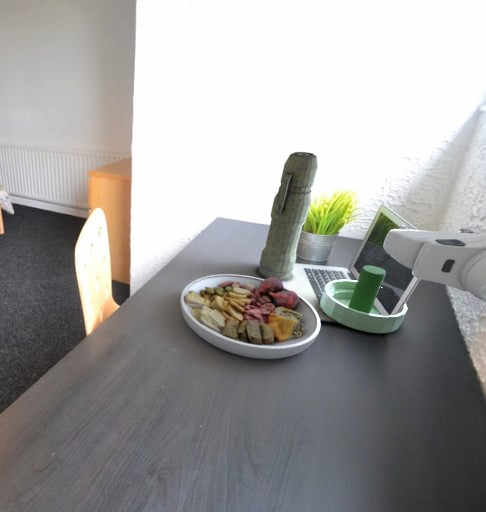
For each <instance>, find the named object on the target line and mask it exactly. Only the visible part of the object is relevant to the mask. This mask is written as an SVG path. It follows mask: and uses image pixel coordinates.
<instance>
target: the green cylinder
mask: <svg viewBox="0 0 486 512" xmlns="http://www.w3.org/2000/svg"><path fill="white" fill-rule="evenodd" d="M386 274H387V271H386V270H385V269H384V268H382V267H379V266H375V265H372V264H371V265H369V264H367V265H363V266H362V268H361V270H360V273H359V276H358V279H357V280H356V281H357V284H356V287H355V290H354V292H353V295H352V298H351V300H350V303H349V306H348V307H349V308H352V309H355V310H357V311H360V312H364V313H369V314H370V311H371V309H372V306H373V304H374V301H375V299H376V296H377V294H378V292H379V289H380V287H381V288H382V284H383V281H384V279H385V277H386Z"/></svg>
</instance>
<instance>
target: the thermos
mask: <svg viewBox="0 0 486 512" xmlns="http://www.w3.org/2000/svg"><path fill="white" fill-rule="evenodd" d="M318 167H319V166H318V157H317V155H316V154H314V153H312V152H307V151H295V152H294V151H293V153H290V154H289V155H288V157H287V159H286V161H284V164H283V167H282V169H283V170H282V173H281V177H280V186H279V187H278V191H277V193H276V194H275V196H274V199H273V202H272V206H271V211H270V219H271V220H270V224H269V229H268V233H267V237H266V241H265V246H264V248H263V249H262V250H261V255H260V260H259V267H258V273H259V274H260V275H261V276H262V277H264V278H265V279H267V278H270V277H274V278H278V279H279V280H281V282H282V281H288V280H289V279H291V276H292V272H293V270H294V268H295V265H296V260H297V249H298V245H299V240H300V238H301V237H300V236H301V233H302V229H303V226H304V224H305V223H306V221H307V219H308V215H309V211H310V207H311V203H312V197H311V194H312V187H313V186H314V181H315V178H316V174H317V171H318Z"/></svg>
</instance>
